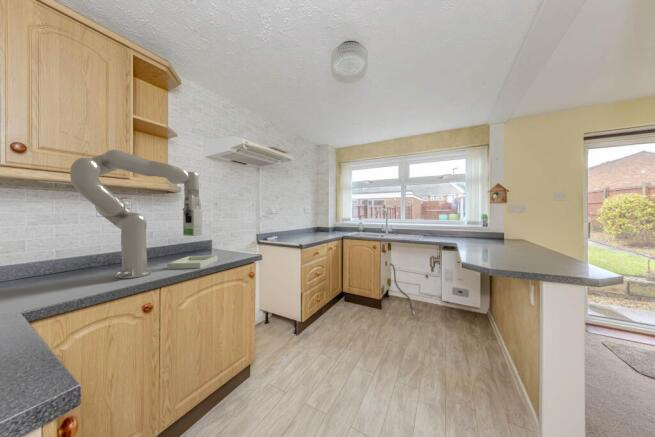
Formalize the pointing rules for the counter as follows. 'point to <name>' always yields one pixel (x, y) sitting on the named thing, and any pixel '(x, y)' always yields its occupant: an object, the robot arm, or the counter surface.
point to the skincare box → (193, 224)
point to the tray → (192, 262)
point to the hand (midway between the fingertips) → (192, 222)
